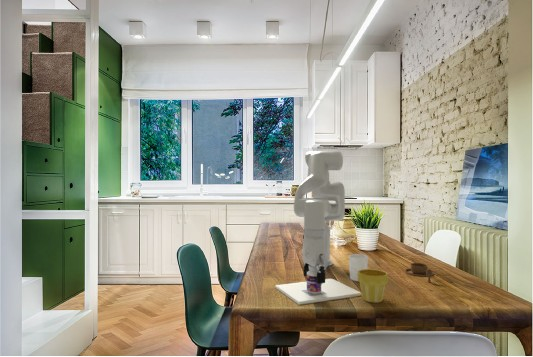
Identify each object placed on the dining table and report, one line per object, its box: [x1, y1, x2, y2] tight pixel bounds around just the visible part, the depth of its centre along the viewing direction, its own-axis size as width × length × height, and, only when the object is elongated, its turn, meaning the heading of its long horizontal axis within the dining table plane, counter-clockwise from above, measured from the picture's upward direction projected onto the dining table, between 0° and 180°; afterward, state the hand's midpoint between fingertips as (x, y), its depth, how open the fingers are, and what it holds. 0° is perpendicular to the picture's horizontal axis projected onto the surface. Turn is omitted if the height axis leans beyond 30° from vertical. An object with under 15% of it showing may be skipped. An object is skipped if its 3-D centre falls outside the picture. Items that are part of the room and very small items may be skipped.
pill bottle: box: [306, 265, 321, 294], centre depth 131 cm, size 5×5×10 cm
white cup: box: [348, 253, 369, 282], centre depth 152 cm, size 8×8×10 cm
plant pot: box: [357, 268, 389, 303], centre depth 126 cm, size 10×10×10 cm
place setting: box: [398, 262, 434, 284], centre depth 158 cm, size 18×20×6 cm
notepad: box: [274, 278, 362, 306], centre depth 135 cm, size 20×26×1 cm
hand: (314, 279), depth 131 cm, fingers open, 9 cm apart
